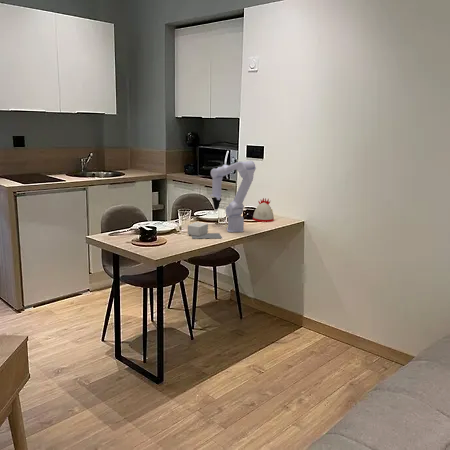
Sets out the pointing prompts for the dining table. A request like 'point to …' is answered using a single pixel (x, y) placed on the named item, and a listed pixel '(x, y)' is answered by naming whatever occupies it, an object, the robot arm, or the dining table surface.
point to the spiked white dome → (263, 212)
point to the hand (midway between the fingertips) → (216, 209)
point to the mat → (207, 236)
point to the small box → (197, 228)
